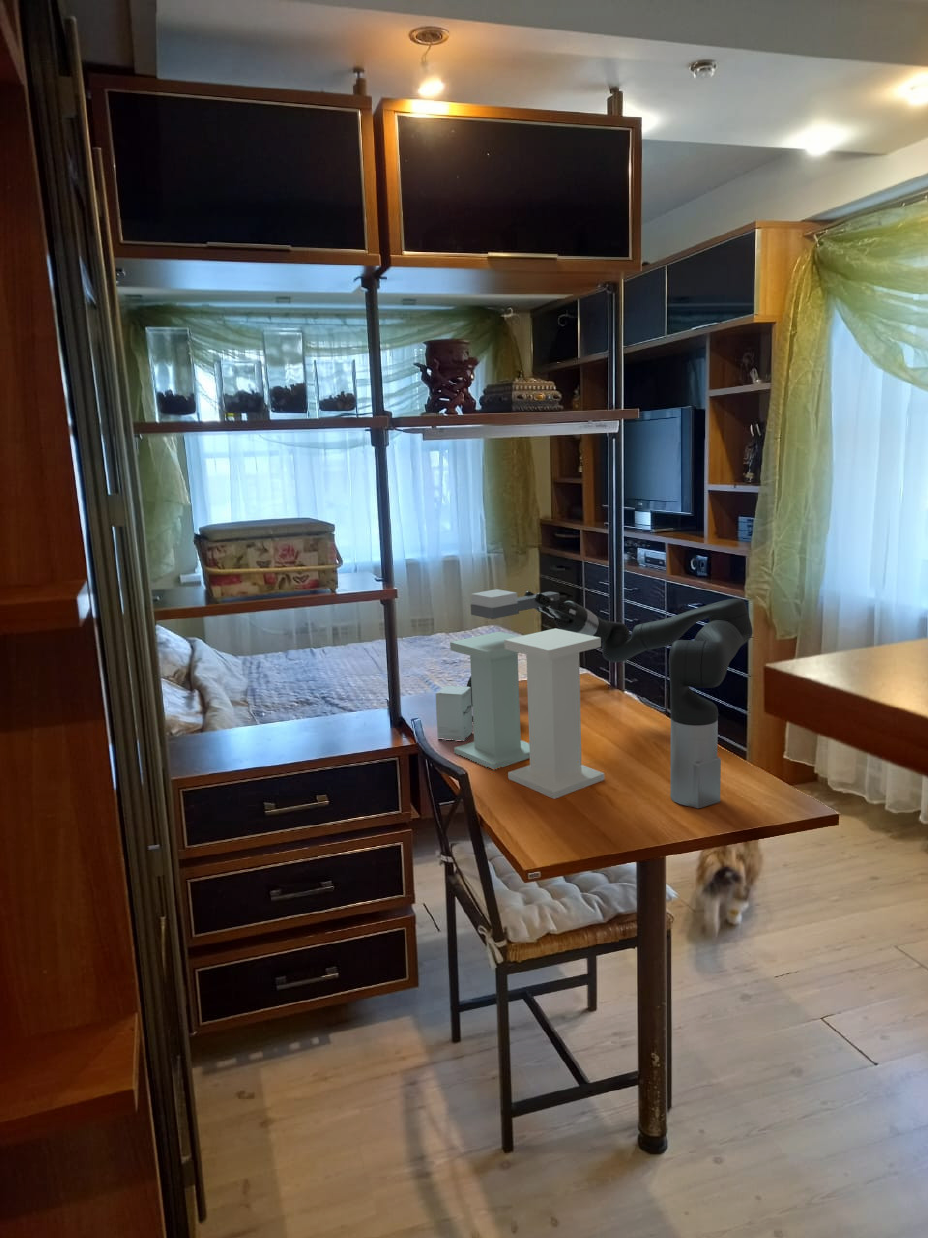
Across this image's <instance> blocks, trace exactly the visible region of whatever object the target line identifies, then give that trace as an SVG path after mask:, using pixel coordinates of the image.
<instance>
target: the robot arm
mask: <svg viewBox="0 0 928 1238" xmlns="http://www.w3.org/2000/svg"><path fill="white" fill-rule="evenodd" d="M541 593H542V592H537V593H536V594H537V595H536V598H535V601H536V602H538V603H540V604H542V605H543V607H538V608H533V609H534V610H536V611H537V612H538V613H541V612H542V613H544V614H546V615H547V616H548V617H550V618H553V619H554V624H555V626H556V627H557V629H561V630H566V631H571V632H575V633H580V634H585V635H590V636H595V637H600V638H601V647H602V651H601V652H602V658H604V659H605V660H606V661H608V662H611V663H621V662H625V661H627V660H629V659H631V658H633V657H635V656H636V655H639V654H641V653H643V652H645V651H649V650H654V649H659V648H660V649H661V648H665V647H668V646H670V648H669V653H668V654H669V655H668V675H669V687H670V691H669V693H670V695H669V696H670V699H669V700H670V704H669V705H670V774H669V775H670V799H671V800H672V802H675V803H676V804H680V805H682V806H684V807H685V806H686V807H693V808H695V809H701V808H704V807H707V806H711V805H714V804H715V805H716V804H719V803H720V802H721V778H722V777H721V775H722V774H721V770H722V768H721V767H722V765H721V764H722V759H721V757H720V756H718V735H719V734H718V727H719V725H718V723H719V721H718V720H719V709H718V706H717V705H716V704H715V703H714V702H713V701H711V700H709V699H707V698H705V697H702V696H700V695H699V694H698V693H695V692H694V691H693V690H692V689H691V688H707V689H708V688H709V689H711V688H716V687H719V686H720V685H721V684H722V682H723V681H724V679H725V677H726V675H727V671H728V668H729V665H730V662H731V661H732V659H734V658H735V656H736V654H737V653H738V651H739V649H740V648H741V647H742V646H743V645H744V644H746V643H747V642H748V641H749V640H750V639H751V638H752V636H753V633H754V632H753V625H752V623H751V622H752V621H751V618H750V615H749V611H748V608H747V607H748V606H747V604H746V601H744V600H743V599H741V598H731V599H724V600H720V601H717V602H713V603H709V604H707V605H703V606H700V607H697V608H696V607H695V608H694V609H690V610H688V611H685V612H682V613H679V614H677V615H673V616H670V617H667V618H663V619H658V620H654V621H649V622H644V623H639V624H636V625H635V626H634V627H633V629H632V632H631V633H630V629H629V628H628V626H627V625H626V624H625V623H623V622H618V621H609V620H606V619H603V618H601V617H599V616H597V615H596V614H594V613H593V612H592V611H591V610H589V609H588V608H585V607H584V606H582V605H580V604H579V603H576V602H575V601H572V600H566V601H562V600H560V599H559V600H554V599H553V598H550V599H549V598H548V597H547V596H545V595H543V594H541ZM534 594H535V593H533V592H531V591H529V590H527V591H525V593H524V596H529V595H534ZM705 619H708V621H709V622H707V623H706V624H704V626H703V627H701V629H700V630H698V632H697V633H696V635H695V638H694V640H689V639H686V640H685V639H680V638H681V637H683V636H684V634H685V633H686V632H688V630H690V629H691V628H692V627H693V626H694V625H695V624H697V623H698V622H701V621H703V620H705ZM630 634H631V635H630Z"/></svg>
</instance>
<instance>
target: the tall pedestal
mask: <svg viewBox="0 0 928 1238" xmlns="http://www.w3.org/2000/svg"><path fill="white" fill-rule="evenodd" d="M518 636H519V637H515V638H510V639H506V640H504V642H505V649H507V650H511V651H515V652H519V653H518V654H524V655H526V683H527V685H526V686H527V712H528V713H527V714H528V741H529V742H528V743H529V749H530V758H529V765H526V766H525V765H524V766H523V767H520V768H517V769H513V770H511V771H508V773H507V777H508V780H509V781H513V782H515V783H517V784H519V785H522V786H524V787H526V788H528V789H531V790H532V791H535V792H538V793H540V794H542V795H543V796H547V797H548V798H551V799H554V800H555V799H559V798H560V797H563V796H566V795H568V794H571V793H575V792H576V791H579V790H581V789H584V788H586V787H589V786H592V785H594V784H597V783H599V782H602V781H604V780H605V773H604V772H602V771H599V770H598V769H594V768H592V767H588V766H586V765H584V764H582V735H581V734H582V733H581V732H582V731H581V730H582V728H581V727H582V724H581V723H582V722H581V719H582V718H581V683H580V682H581V681H580V680H581V677H580V676H581V675H580V673H581V672H580V653H582V652H585V651H589V650H594V649H599V648H601V647H602V644H601V638H600V637H595V636H590V635H585V634H580V633H575V632H571V631H566V630H562V629H560V628H556V627H555V628H551V629H547V630H542V631H538V632H534V633H533V632H532V633H529V634H524V635H518Z"/></svg>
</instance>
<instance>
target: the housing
mask: <svg viewBox="0 0 928 1238" xmlns="http://www.w3.org/2000/svg"><path fill="white" fill-rule="evenodd" d="M540 593H541V594H543V595H545V596H547V597H548V598H549V599H550V598H553V599H554V600H560V593H559V592H555V591H545V592H540ZM533 594H534V595H529V596H525V595H523V596H520V597H518V592H515V591H509V590H503V589H497V588H495V589H489V590H485V591H480V592H473V593H470V595H471V597H470V598H471V603H470V615H471V616H476V617H480V618H485V619H489V620H496V619H499V618H505V617H510V616H514V615H519V614H520V612H522V611H527V610H532V609H534V608H538V607H543V605H542V604H540V603H538V602H536V601H535V598H536V595H537V593H533Z"/></svg>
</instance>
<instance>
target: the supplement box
mask: <svg viewBox="0 0 928 1238" xmlns="http://www.w3.org/2000/svg"><path fill="white" fill-rule="evenodd" d="M434 694H435V711H436V713H435V715H436V728H437V729H436V734H437V736H436V737H437V739H438V738H444V739H451V740H452V739H453V740H461V741H463V740H464V741H466V739H467V738H469V736H471V735H472V734H473V733H474V728H473V724H472V716H473V707H472V703H471V687H466V686H460V685H459V686H457V685H444V686H443V687H442V688H440V689H439V690H438V691H436V692H435V693H434ZM472 732H473V733H472ZM471 733H472V734H471ZM466 737H467V738H466ZM465 738H466V739H465Z"/></svg>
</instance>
